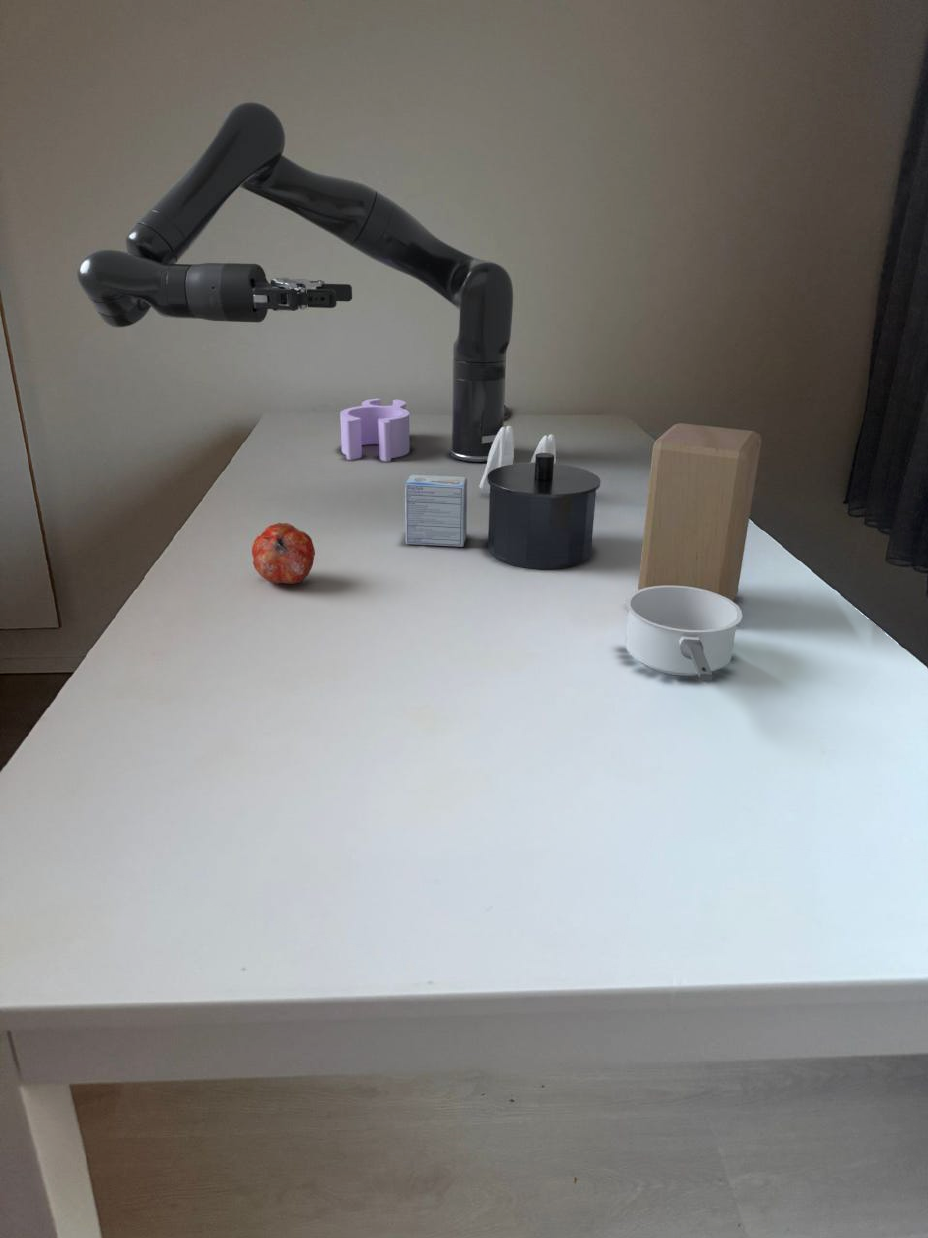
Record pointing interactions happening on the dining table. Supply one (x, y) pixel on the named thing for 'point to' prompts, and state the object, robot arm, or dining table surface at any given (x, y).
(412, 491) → the medicine box
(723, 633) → the saucepan
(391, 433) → the clip
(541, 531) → the pot
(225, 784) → the dining table surface
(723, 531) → the wooden block
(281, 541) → the pomegranate
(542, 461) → the pot lid
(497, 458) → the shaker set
